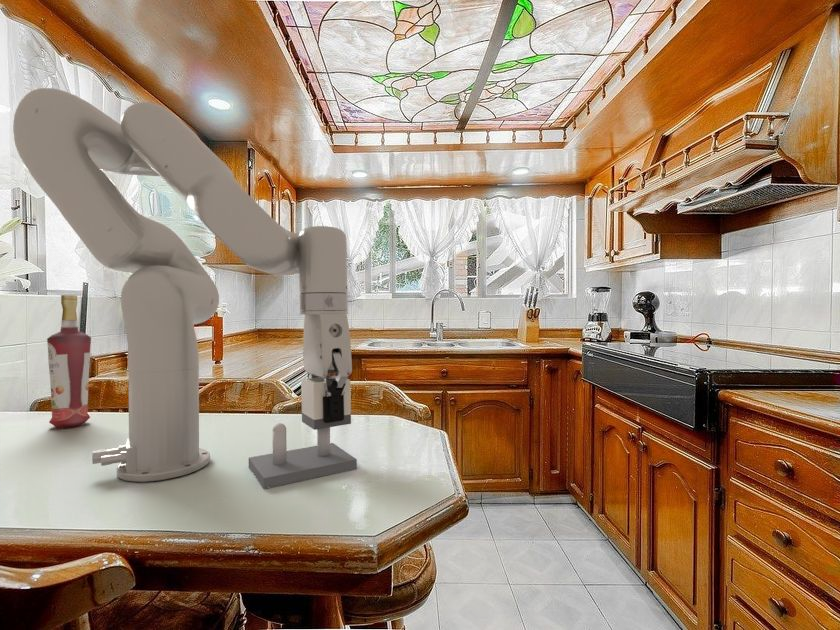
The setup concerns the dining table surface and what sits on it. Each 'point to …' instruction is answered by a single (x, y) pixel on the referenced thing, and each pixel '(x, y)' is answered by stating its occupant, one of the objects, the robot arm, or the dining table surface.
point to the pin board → (300, 460)
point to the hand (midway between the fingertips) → (325, 416)
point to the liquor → (69, 369)
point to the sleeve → (321, 403)
